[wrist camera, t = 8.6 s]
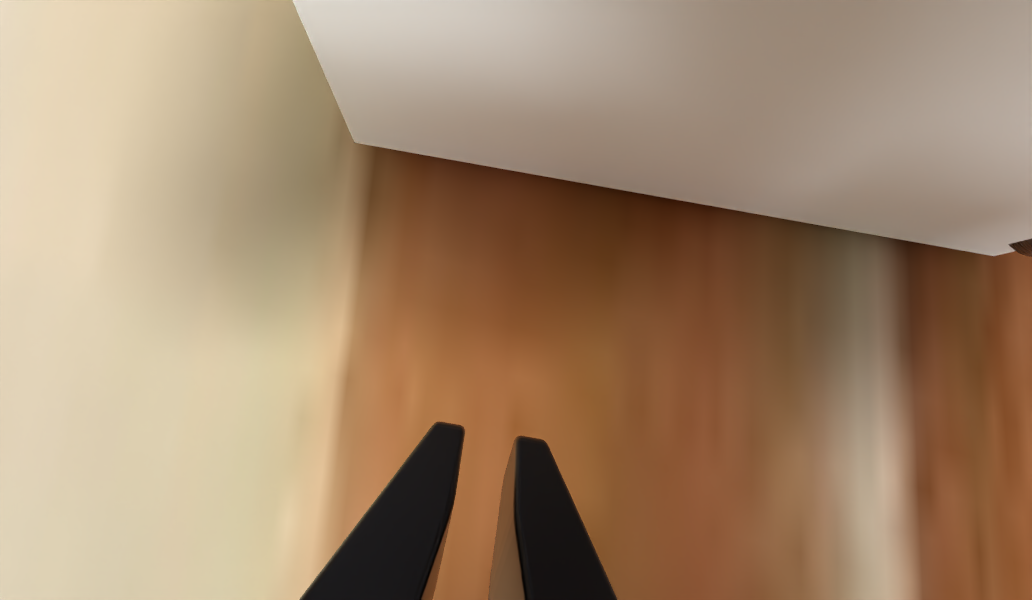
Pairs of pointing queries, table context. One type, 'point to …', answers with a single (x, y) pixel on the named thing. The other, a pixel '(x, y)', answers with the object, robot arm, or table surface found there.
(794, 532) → the table surface
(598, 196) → the table surface
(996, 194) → the cabinet door
